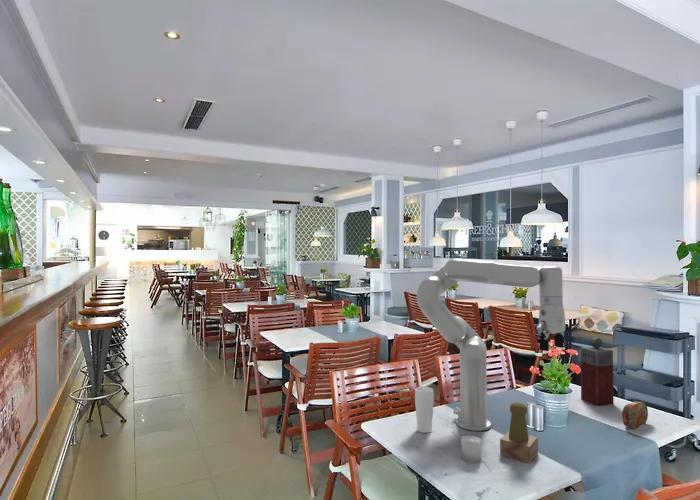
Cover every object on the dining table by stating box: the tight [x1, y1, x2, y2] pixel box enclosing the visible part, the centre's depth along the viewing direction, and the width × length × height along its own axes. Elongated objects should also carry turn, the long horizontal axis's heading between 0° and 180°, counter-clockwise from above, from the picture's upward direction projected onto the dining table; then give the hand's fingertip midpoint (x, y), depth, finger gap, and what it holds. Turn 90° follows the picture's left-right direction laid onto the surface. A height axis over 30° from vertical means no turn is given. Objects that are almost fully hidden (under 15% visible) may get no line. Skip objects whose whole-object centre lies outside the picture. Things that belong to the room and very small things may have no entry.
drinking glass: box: [414, 386, 435, 434], centre depth 157 cm, size 7×7×15 cm
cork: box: [508, 402, 529, 442], centre depth 138 cm, size 6×6×11 cm
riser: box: [499, 430, 539, 464], centre depth 138 cm, size 9×9×5 cm
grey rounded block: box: [460, 435, 482, 464], centre depth 135 cm, size 6×6×6 cm
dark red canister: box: [580, 336, 615, 407], centre depth 190 cm, size 9×11×28 cm
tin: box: [621, 400, 649, 430], centre depth 162 cm, size 15×3×8 cm, turn 123°
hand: (551, 348), depth 154 cm, fingers open, 9 cm apart
